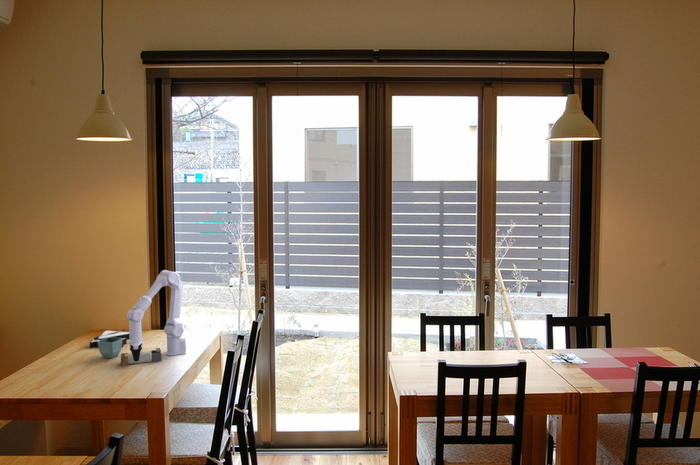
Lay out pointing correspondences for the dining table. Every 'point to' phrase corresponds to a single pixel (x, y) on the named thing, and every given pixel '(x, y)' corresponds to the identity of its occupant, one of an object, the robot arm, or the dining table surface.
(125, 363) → the socket
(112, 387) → the dining table surface
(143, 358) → the tube
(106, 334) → the decorative sign
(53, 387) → the dining table surface
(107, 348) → the flower pot
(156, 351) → the sleeve
